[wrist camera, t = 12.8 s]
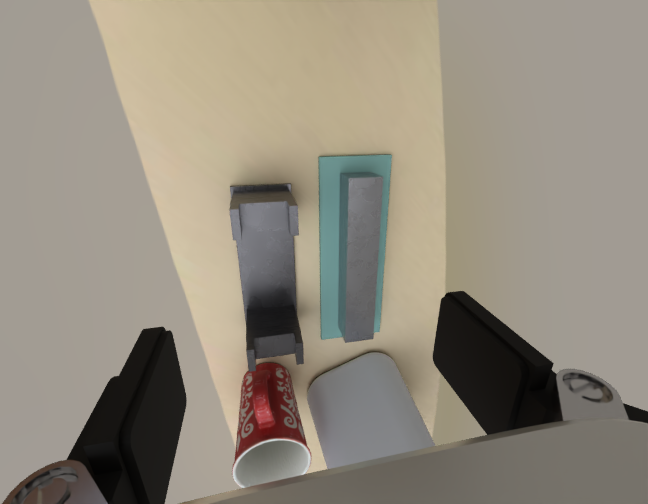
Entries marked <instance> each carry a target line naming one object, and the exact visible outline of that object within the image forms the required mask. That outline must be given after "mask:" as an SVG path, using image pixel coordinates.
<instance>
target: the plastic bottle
mask: <svg viewBox="0 0 648 504" xmlns="http://www.w3.org/2000/svg"><path fill="white" fill-rule="evenodd" d="M307 400H308V404H309V408H310V411H311V415H312V418H313V421H314V425H315V428H316V431H317V435H318V438H319V442H320V445H321V448H322V452H323V455H324V458H325V462H326V465H327V469H331V468H335V467H340V466H345V465H349V464H354V463H358V462H363V461H368V460H372V459H377V458H381V457H386V456H391V455H395V454H400V453H405V452H409V451H414V450H419V449H423V448H428V447H433V446H435V444H434V442H433V440H432V438H431V436H430V434H429V432H428V430H427V428H426V425H425V423H424V421H423V419H422V417H421V415H420V413H419V411H418V409H417V407H416V405H415V403H414V401H413V399H412V397H411V395H410V392H409V390H408V388H407V386H406V384H405V382H404V380H403V378H402V376H401V374H400V372H399V370H398V368H397V366H396V364H395V362H394V361H393V359H392V358H390V357H389V356H388V355H386V354H383V353H378V352H372V353H367V354H364V355H362V356H360V357H358V358H356V359H353V360H351V361H349V362H347V363H345V364H343V365H341V366H339V367H337V368H335V369H332V370H330V371H328V372H326V373H324V374H322V375H320V376H319V377H318V378H316V379H315V380H314V382H313V383H312V384H311V386H310V388H309V390H308V395H307Z"/></svg>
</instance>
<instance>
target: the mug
mask: <svg viewBox="0 0 648 504" xmlns="http://www.w3.org/2000/svg"><path fill="white" fill-rule="evenodd" d="M310 464H311V452H310V450H309V448H308V447H307V443H306V439H305V435H304V431H303V427H302V423H301V419H300V415H299V411H298V407H297V402H296V398H295V394H294V390H293V386H292V382H291V378H290V374H289V372H288V371H287V370H286V369H285V368H284V367H283V366H281V365H279V364H276V363H263V364H259V365H257V366H256V371H251V372H249V371H248V372H247V373H246V374H245V376H244V378H243V381H242V388H241V400H240V410H239V422H238V431H237V442H236V454H235V462H234V464H233V468H232V475H233V478H234V480H235V482H236V483H237V484H238V485H239V486H240V487H241V488H245V487H250V486H254V485H259V484H263V483H268V482H272V481H277V480H281V479H286V478H290V477H295V476H299V475H304V474H305V473H306V472H307V471H308V469H309V467H310Z"/></svg>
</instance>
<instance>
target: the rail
mask: <svg viewBox="0 0 648 504" xmlns="http://www.w3.org/2000/svg"><path fill="white" fill-rule="evenodd" d="M382 191H383V177H382V176H380V175H378V174H375V173H373V172H351V173H340V198H339V281H338V327H339V329H340V332H341V334H342V336H343V339H344V341H345V343H347V342H354V341H361V340H368V339H373V335H374V319H375V303H376V287H377V271H378V255H379V239H380V223H381V207H382Z"/></svg>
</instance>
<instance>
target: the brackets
mask: <svg viewBox="0 0 648 504" xmlns="http://www.w3.org/2000/svg"><path fill="white" fill-rule="evenodd" d="M230 191H231V203H230V218H231V226H232V235H233V240H236V242H237V251H238V259H239V268H240V277H241V285H242V294H243V302H244V311H245V319H246V342H247V349H246V351H247V359H248V367H249V372H251V371H256V359H260V358H267V357H274V356H281V355H288V354H295V357H296V362H297V365H298V364H304V359H303V341H302V337H301V331H300V327H299V323H298V318H297V308H296V286H295V264H294V242H293V236H296V235H299V230H298V206H297V204H296V202H295V199H294V197H293V196H292V194H291V184H290V183H288V184H266V185H244V186H230Z"/></svg>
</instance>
